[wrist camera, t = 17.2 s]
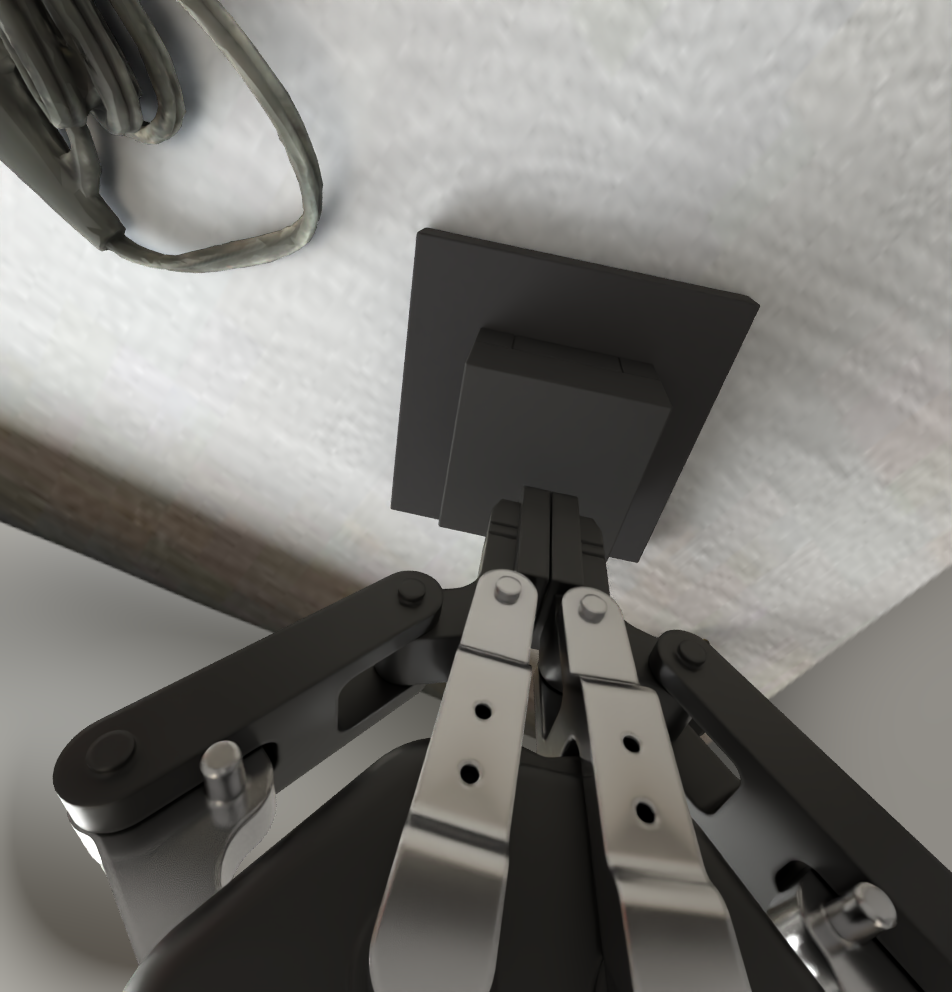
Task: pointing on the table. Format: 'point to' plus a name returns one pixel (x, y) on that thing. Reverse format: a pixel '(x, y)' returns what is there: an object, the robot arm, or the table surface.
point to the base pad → (565, 321)
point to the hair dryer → (126, 118)
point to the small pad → (551, 430)
